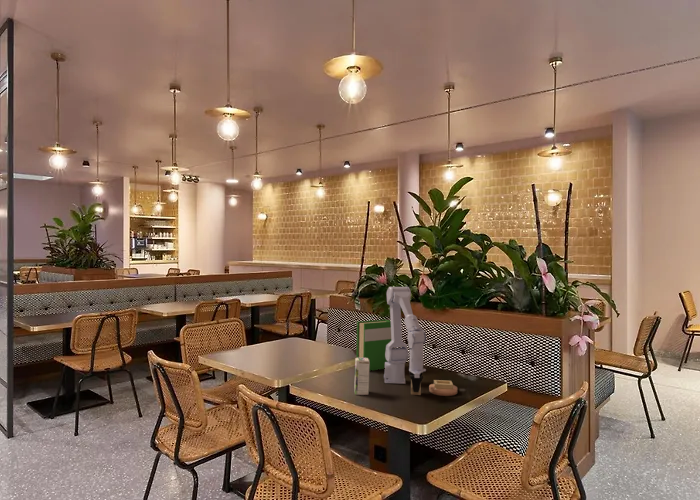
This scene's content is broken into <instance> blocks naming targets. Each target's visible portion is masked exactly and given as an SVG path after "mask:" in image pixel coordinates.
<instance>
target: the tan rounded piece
mask: <svg viewBox="0 0 700 500" xmlns="http://www.w3.org/2000/svg"><path fill="white" fill-rule="evenodd" d="M428 391H429V393H431V394H433V395H435V396H443V397H444V396H445V397H450V396H455V395H457V394H458V386H456V385H454V384H453V382H452V380H442V379H441V380H439V379H433V383H431V384H429V386H428Z"/></svg>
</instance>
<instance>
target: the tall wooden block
mask: <svg viewBox="0 0 700 500" xmlns="http://www.w3.org/2000/svg"><path fill="white" fill-rule="evenodd" d="M421 389H422V383H421V384H420V389H419V392H414V391H413V385H412V381H411V380H410V395H411V396H413V395H414V396H415V395H416V396H421V395H422V390H421Z"/></svg>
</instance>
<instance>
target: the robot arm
mask: <svg viewBox="0 0 700 500" xmlns="http://www.w3.org/2000/svg"><path fill="white" fill-rule="evenodd" d="M411 297H412V292H411V289H410V287H409V286H389V287H388V288H387V290H386V302H387V304H386V305H389V313H390V314H389V315H390V321H391V342H390V343H388V344H387V345H386V351H385V357H386V360H387V361H388V362H385V369H384V374H383V379H384V383H385V384H399V385H400V384H401V385H403V384H405V385H406V378H405V368H406V367H405V365H406V362H407V361H408V359H409V367H408V371H409V372H408V373H409V378H410V382H411V381H412V385H413V391H414V392H419V389H420V384H421V385H422V381H423V379H424V376H423V373H424V372H426V371H427V369H426V368H424V344H425V343H426V341H427V334H426V331H425V329H423V327H421V326H420V322H419V320H418V317H417V316H416V315H415V314H414V313H413V312H414V311H413V309H412V305H411V301H410V300H411ZM402 312H403V314H404V320H403V322H404V325H405V327H406V330H407V343H408V344H406V343H405V342H404V341H403V332H402ZM408 348H409V349H408Z"/></svg>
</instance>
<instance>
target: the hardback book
mask: <svg viewBox="0 0 700 500" xmlns="http://www.w3.org/2000/svg"><path fill="white" fill-rule="evenodd" d="M390 342H391V319H390V320H389V319H376V320H375V319H372V320H361V321H356V358H368V359H369V372H370V371H371V370H372V371H378V369H379V370H385V369H384V368H385V362H388V361H387V360H386V357H385V351H386V345H387V344H388V343H390ZM372 371H371V372H372Z"/></svg>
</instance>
